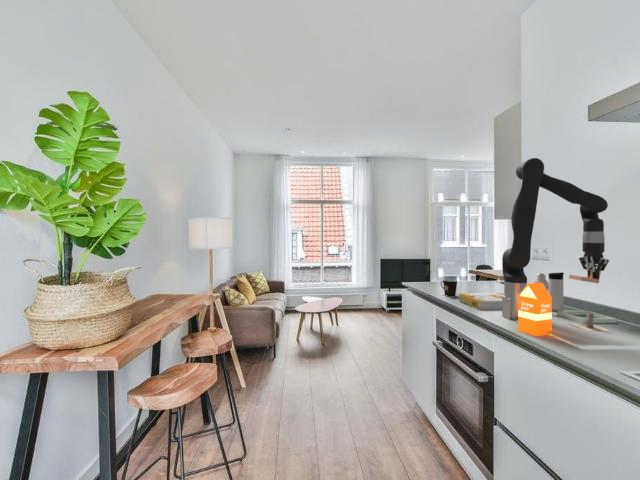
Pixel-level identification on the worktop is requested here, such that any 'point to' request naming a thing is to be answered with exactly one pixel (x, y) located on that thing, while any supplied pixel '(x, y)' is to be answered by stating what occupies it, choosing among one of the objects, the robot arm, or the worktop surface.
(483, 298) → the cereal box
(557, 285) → the travel mug
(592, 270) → the collar
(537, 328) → the orange juice
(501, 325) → the worktop surface
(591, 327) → the wooden peg stand
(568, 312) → the tray
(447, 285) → the coffee mug
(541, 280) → the plastic bottle
